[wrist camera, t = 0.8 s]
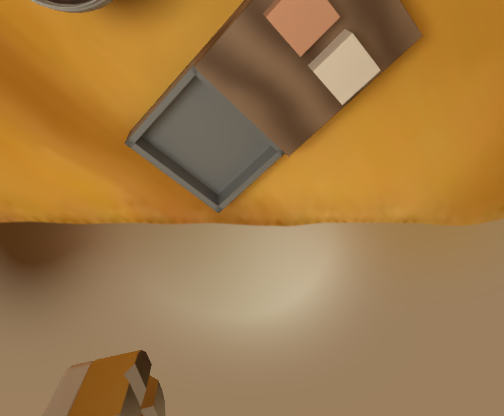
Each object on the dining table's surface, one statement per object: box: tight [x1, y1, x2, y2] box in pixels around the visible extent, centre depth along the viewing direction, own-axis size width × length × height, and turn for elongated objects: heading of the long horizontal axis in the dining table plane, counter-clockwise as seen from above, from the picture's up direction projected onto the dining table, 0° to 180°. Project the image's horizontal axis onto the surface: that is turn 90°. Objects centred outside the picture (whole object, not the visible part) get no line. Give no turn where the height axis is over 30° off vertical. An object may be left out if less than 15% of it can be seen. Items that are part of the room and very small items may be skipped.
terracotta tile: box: [263, 0, 340, 57], centre depth 36 cm, size 5×5×2 cm
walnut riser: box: [194, 0, 423, 156], centre depth 41 cm, size 19×15×5 cm
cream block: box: [308, 29, 381, 105], centre depth 39 cm, size 5×5×2 cm
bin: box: [125, 58, 284, 213], centre depth 47 cm, size 12×15×4 cm
